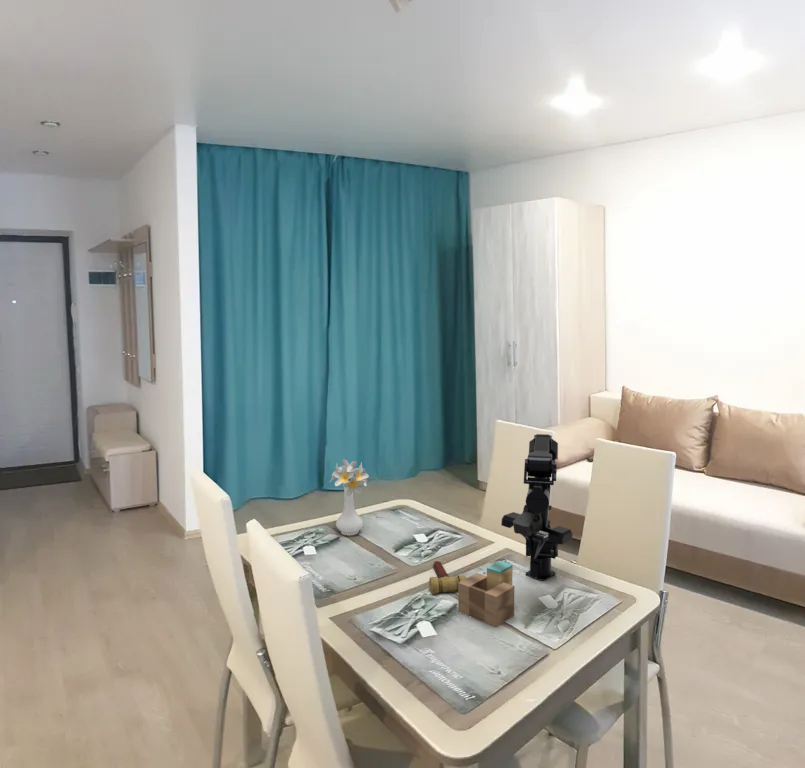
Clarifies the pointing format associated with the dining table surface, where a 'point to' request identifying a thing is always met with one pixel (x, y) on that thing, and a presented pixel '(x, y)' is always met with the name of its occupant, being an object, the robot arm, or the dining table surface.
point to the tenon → (499, 574)
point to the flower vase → (349, 496)
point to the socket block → (485, 600)
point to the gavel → (443, 580)
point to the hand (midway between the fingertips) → (533, 558)
